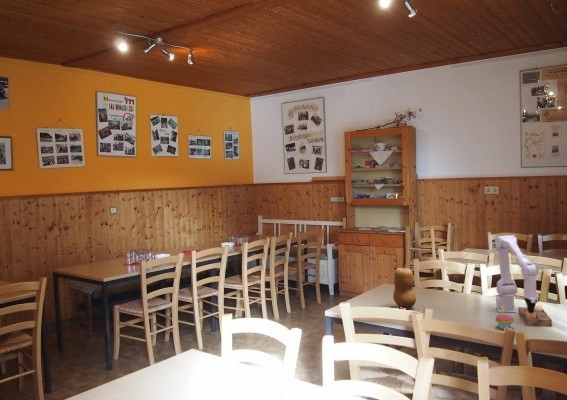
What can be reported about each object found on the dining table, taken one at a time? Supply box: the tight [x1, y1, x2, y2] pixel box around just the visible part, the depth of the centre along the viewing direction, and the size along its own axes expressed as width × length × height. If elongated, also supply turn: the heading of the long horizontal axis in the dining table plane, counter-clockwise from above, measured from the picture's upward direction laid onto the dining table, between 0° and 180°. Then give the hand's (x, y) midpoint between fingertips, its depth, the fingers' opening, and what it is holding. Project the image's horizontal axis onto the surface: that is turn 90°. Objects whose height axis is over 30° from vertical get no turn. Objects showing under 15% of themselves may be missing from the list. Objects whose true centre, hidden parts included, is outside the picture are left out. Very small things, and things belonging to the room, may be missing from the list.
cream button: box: [534, 302, 543, 312], centre depth 259 cm, size 5×5×5 cm
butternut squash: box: [392, 267, 417, 309], centre depth 288 cm, size 14×13×25 cm
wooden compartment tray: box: [517, 306, 553, 328], centre depth 255 cm, size 12×22×4 cm, turn 163°
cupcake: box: [495, 306, 514, 330], centre depth 244 cm, size 9×8×12 cm
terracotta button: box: [526, 311, 536, 318], centre depth 251 cm, size 5×5×5 cm
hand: (530, 312), depth 251 cm, fingers closed, pressing on terracotta button
